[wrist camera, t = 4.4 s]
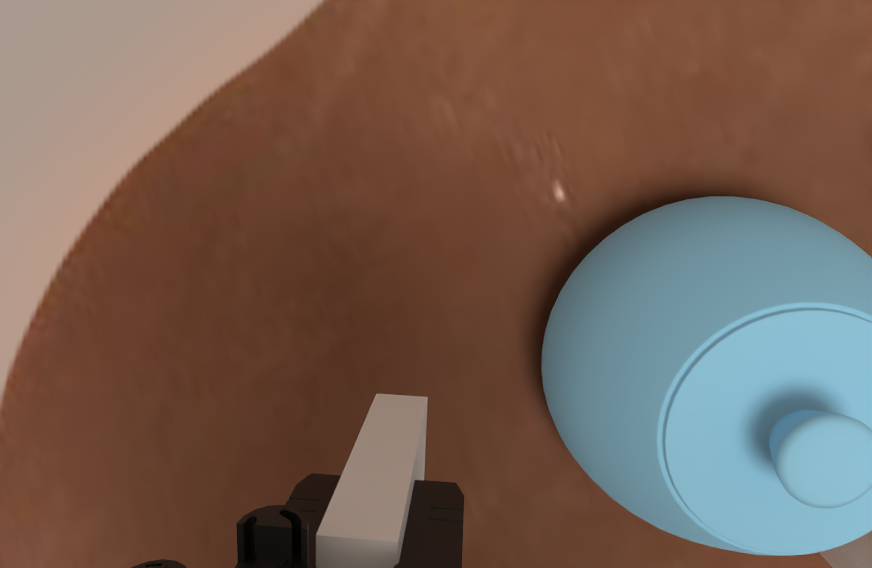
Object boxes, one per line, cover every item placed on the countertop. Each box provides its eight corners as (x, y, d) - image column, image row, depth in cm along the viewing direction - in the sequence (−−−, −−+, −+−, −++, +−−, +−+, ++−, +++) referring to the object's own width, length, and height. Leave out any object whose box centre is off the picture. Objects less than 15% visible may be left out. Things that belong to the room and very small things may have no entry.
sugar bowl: (692, 126, 27) (855, 94, 15) (918, 336, 28) (1225, 451, 16) (475, 360, 29) (477, 479, 18) (689, 541, 31) (817, 760, 19)
